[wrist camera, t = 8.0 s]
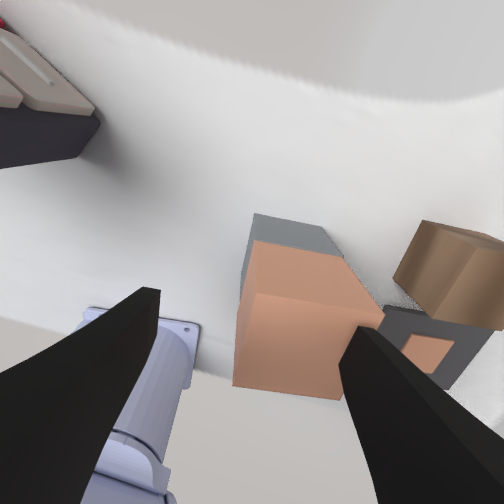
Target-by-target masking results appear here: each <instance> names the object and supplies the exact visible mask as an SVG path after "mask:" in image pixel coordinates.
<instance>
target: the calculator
mask: <svg viewBox="0 0 504 504" xmlns="http://www.w3.org/2000/svg"><path fill="white" fill-rule="evenodd" d="M4 26H5V23H4V22H3V21H2V20H1V19H0V169H4V168H10V167H17V166H24V165H31V164H38V163H44V162H51V161H58V160H65V159H72V158H76V157H77V156H78V155H79V153H80V152H81V151H82V149H83V148H84V146H85V145H86V144H87V142H88V141H89V139H90V138H91V137H92V135H93V134H94V132H95V131H96V129H97V128H98V126H99V125H100V121H99V120H98V118H97V117H96V116H95V115H93V114H92V112H93V111H94V110H95V107H94V106H93V105H92V104H91V103H90V102H89V101H88V100H87V99H86V98H85V97H84V96H83V95H82V94H81V93H79V92H78V91H77V90H76V89H75V88H74V87H73V86H72V85H71V84H70V83H69V82H68V81H67V80H66V79H65V78H63V77H62V76H61V75H60V74H59V73H58V72H57V71H56V70H55V69H54V68H53V67H52V66H51V65H50V64H49V63H47V62H46V61H45V60H44V59H43V58H42V57H41V56H40V55H39V54H38V53H37V52H36V51H35V50H34V49H33V48H31V47H30V46H29V45H28V44H27V43H26V42H25V41H24V40H23V39H21V38H20V37H19V36H17V35H15V34H13V33H11V32H8V31H6V30H4V29H3V28H4Z"/></svg>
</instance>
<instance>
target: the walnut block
mask: <svg viewBox="0 0 504 504" xmlns="http://www.w3.org/2000/svg"><path fill="white" fill-rule="evenodd" d="M393 279H394V281H395V282H396V283H397V284H398V285H399V286H400V287H401V288H402V289H403V290H404V291H405V292H406V293H407V294H408V295H409V296H410V297H411V298H412V299H413V300H414V301H415V302H416V303H417V304H418V305H419V306H420V307H421V308H422V309H423V310H424V311H425V312H426V313H427V314H428V315H429V316H430V317H431V318H432V319H437V320H442V321H448V322H453V323H459V324H464V325H470V326H476V327H481V328H487V329H492V330H498V331H502V330H503V329H504V242H503V241H500V240H498V239H496V238H494V237H491V236H489V235H487V234H484V233H480V232H475V231H471V230H466V229H462V228H457V227H453V226H448V225H444V224H439V223H435V222H430V221H425V220H422V222H421V224H420V226H419V228H418V230H417V232H416V233H415V235H414V237H413V239H412V241H411V243H410V245H409V247H408V249H407V251H406V253H405V255H404V257H403V259H402V261H401V262H400V264H399V266H398V268H397V270H396V272H395V274H394V276H393Z"/></svg>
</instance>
